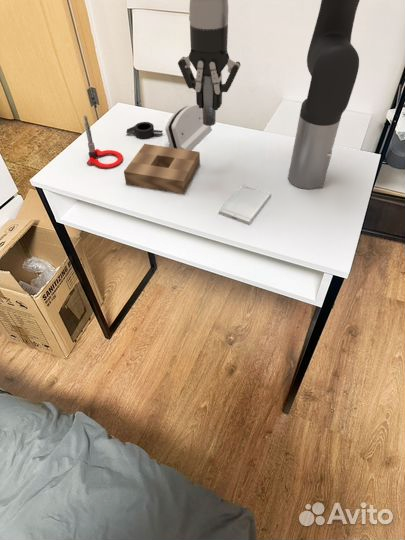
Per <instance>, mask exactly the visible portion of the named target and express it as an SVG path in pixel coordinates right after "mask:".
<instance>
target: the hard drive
mask: <svg viewBox="0 0 405 540" xmlns="http://www.w3.org/2000/svg"><path fill="white" fill-rule="evenodd" d="M271 197H272V194H271V193H270V192H268V191H264V190H261V189H258V188H255V187H252V186H249V185H246V184H242V185H240V187H238V189H237V190H236V191H235V193H234V194H233V195H232V196H231V197H230V198H229V199H228V200H227V202H226V203H225V204H224V205H223V206H222V207H221V209H220V210H219V211H218V215H221V216H222V217H226V218H228V219H232V220H234V221H237V222H239V223H242V224H244V225H247V226H250V225H251V223H252V222H253V221H254V219H256V217H257V216H258V215H259V214H260V212H261V211H262V210H263V208H264V207H265V205H266V204H267V203H268V201H269V200H270V199H271Z"/></svg>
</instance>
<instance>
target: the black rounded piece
mask: <svg viewBox="0 0 405 540" xmlns="http://www.w3.org/2000/svg"><path fill="white" fill-rule="evenodd" d="M154 128H155V126H154V124H153V123H152V122H148V121H141V122H138V123H136V124H134V125H133V126H132V127H130V128H127V129H126V133H125V134H135V137H136V138H137V139H138V140H143V141H144V140H149V139H152V138H154V137H155V134H156V133H158V134H159V133H163V130H159V129H158V130H157V129H154Z"/></svg>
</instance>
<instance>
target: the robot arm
mask: <svg viewBox="0 0 405 540" xmlns="http://www.w3.org/2000/svg"><path fill="white" fill-rule="evenodd" d="M359 3H360V0H321V1H320V6H319V11H318V15H317V19H316V22H315V25H314V28H313V29H314V30H313V33H312V36H311V40H310V42H309V43H310V44H309V48H308V50H307V51H308V52H307V57H306V66H307V70H308V72H309V75H310V77H311V78H310V84H309V88H308V92H307V96H306V97H307V98H305V99H304V101H303V102H301V106H300V112H299V117H298V122H297V126H296V127H297V128H296V133H295V139H294V144H293V147H292V154H291V160H290V165H289V169H288V175H287V179H288V181H289V182H290V183H291V185H293V186H294V187H296V188H300V189H303V190H304V189H305V190H314V189H319V188H320V189H323V187H324V184H325V181H326V180H325V179H326V176H327V173H328V171H329V170H328V169H329V166H330V162H331V158H332V154H333V153H332V152H333V148H334V144H335V141H336V136H337V133H338V129H339V126H340V122H341V119H342V115H343V113H344V112H345V110H346V109H347V108H348V105H349V102H350V99H351V96H352V93H353V90H354V86H355V85H356V80H357V76H358V73H359V69H360V57H359V53H358V52H357V50H356V48H355V47H354V46H353V44H352V42H351V41H352V33H353V29H354V28H353V27H354V24H355V17H356V14H357V9H358V7H359ZM188 9H189V14H188V19H189V33H190V34H189V35H190V36H189V37H190V38H189V39H190V51H189V52H190V53H189V54H188V55H187V56H182V57H180V59H179V60H178V62H177V64H178V65H177V66H178V68H179V70H180V72H181V74H182V77H183V80H184V82H185V83H186V86H187V88H188V89H193V90H194V91H195V93H196V94H195V97H196V99H195V100H196V102H195V103H196V105H199V108H201V109H203V95H202V76H203V75H205V76H212V82H213V84H214V90H215V94H214V110H216V111H218V110H219V109H220V108H221V106H222V104H223V93H227V92H228V91H229V90H230V88H231V86H232V84H233V82H234V80H235V78H236V75H237V73H238V72H239V70H240V67H241V62H240V61H236V62H235V61H234V60H232V59H231V58H230V56H229V53H228V39H229V38H228V37H229V36H228V35H229V24H228V23H229V0H189V8H188ZM191 65H192V66H193V67H194V69H195V71H196V76H194V74H193V71H192V69H191ZM226 66H227V72H228V73H229V75H228V76H227V79H226V80H225V83H223V80H222V79H223V74H222V73H223V70H224V69H225V67H226Z"/></svg>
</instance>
